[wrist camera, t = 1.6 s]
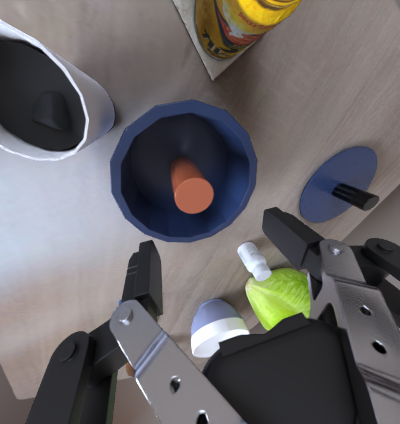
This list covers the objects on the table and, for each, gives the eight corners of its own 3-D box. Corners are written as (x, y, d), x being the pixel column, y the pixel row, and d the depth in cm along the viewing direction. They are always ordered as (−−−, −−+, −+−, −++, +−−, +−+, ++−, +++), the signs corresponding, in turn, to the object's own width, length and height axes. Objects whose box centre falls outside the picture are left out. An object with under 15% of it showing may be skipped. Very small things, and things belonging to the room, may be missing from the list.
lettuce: (268, 249, 39) (256, 325, 31) (348, 281, 37) (357, 370, 29) (243, 262, 54) (231, 315, 46) (300, 285, 52) (297, 345, 44)
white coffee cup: (119, 81, 17) (84, 51, 8) (119, 146, 20) (92, 170, 12) (40, 54, 14) (-113, -24, 6) (53, 131, 17) (-36, 148, 9)
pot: (101, 117, 18) (72, 119, 12) (229, 95, 20) (262, 87, 13) (147, 222, 27) (144, 255, 21) (232, 201, 29) (252, 225, 22)
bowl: (184, 324, 50) (189, 362, 43) (189, 296, 42) (196, 337, 35) (228, 315, 55) (240, 348, 47) (240, 288, 47) (257, 323, 39)
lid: (309, 155, 27) (350, 167, 21) (387, 137, 29) (444, 143, 23) (290, 227, 37) (316, 248, 31) (350, 210, 39) (384, 227, 33)
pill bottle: (244, 256, 39) (261, 284, 32) (233, 251, 36) (249, 280, 30) (257, 245, 37) (278, 272, 31) (246, 238, 35) (266, 266, 29)
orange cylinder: (165, 159, 21) (170, 183, 14) (193, 153, 22) (211, 173, 14) (172, 185, 24) (179, 217, 16) (197, 179, 24) (215, 208, 17)
